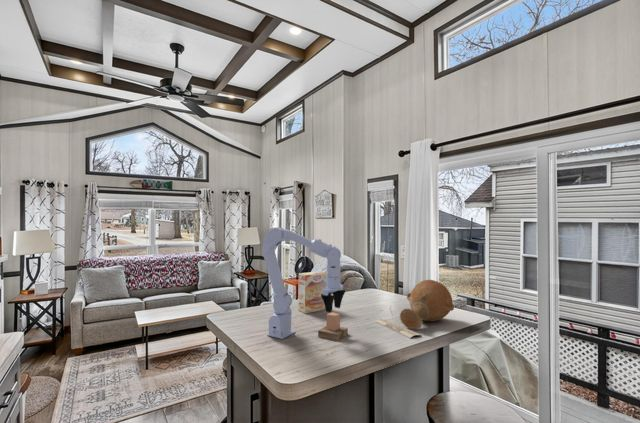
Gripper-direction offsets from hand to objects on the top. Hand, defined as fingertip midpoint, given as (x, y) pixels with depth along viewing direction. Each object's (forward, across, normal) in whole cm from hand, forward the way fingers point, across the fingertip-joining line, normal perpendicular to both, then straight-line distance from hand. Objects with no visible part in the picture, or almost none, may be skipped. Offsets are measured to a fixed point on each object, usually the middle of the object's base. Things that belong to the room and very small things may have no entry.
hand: (333, 309), depth 134 cm
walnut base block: (+11, 0, 0) cm, 11 cm away
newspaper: (+11, +22, -20) cm, 31 cm away
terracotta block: (+8, 0, 0) cm, 8 cm away
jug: (+11, +37, -28) cm, 48 cm away
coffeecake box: (+11, +29, +27) cm, 41 cm away
